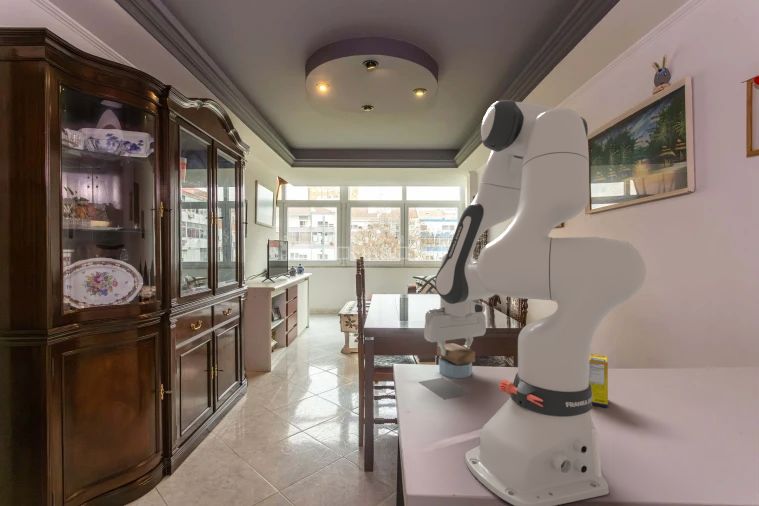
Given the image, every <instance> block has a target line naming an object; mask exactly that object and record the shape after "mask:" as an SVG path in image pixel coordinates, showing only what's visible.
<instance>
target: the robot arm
mask: <svg viewBox="0 0 759 506" xmlns="http://www.w3.org/2000/svg"><path fill="white" fill-rule="evenodd" d="M588 129H589V128H588V122H587V120H586V119H585V118H584V117H582V116H581V115H580V114H579V113H578V112H576V111H574V110H573V109H569V108H565V107H564V108H563V107H559V108H558V107H557V108H555V107H551V106H547V105H544V104H541V103H535V102H527V101H526V102H523V101H515V100H513V99H501V100H497V101H495V102H494V103H492V104H491V105H490V106H489V107H488V108H487V110H486V113H485V114H484V116H483V119H482V122H481V125H480V140H481V143H482V144H483V146H484V147H485V148H487V149H489V150H491V151H490V154H489V155H488V157H487V161H486V164H485V166H484V170H483V172H482V176H481V180H480V183H479V187H478V190H477V193H476V194H475V196H474V198H473V200H472V202H471V203H469V205H467V207H465V209H464V210H463V212H462V214H461V216H460V218H459V221H458V223H457V226H456V229H455V231H454V235H453V237H452V240H451V241H450V245H449V247H448V251H447V253H446V254H444V255H443V257H442V259H441V264H440V267H439V269H438V272H437V274H436V276H435V279H434V280H435V281H434V286H435V290H436V292H437V294H438V296H439V297H440V301H439V302H440V303H439V304H440V306H439V307H437V308H430V309H429V310H428V311H426V313H425V316H424V317H425V319H424V320H425V321H424V328H423V329H424V330H423V337H424V339H425V340H426V341H427V342H430V343H437V345H439V347H440V349H441V355H443V356H446V355H448V349H446V348H445V346H444V344H447V343H446V341H452V340H458V339H460V340H461V339H465V342H464V345H461V346H462V347H465V348H468V349H470V350H471V345H472V344H473V341H474V338H475V337H482V336H484V335H485V334H486V332H487V322H486V321H487V319H486V315H485V313H484V312H485V311H486V306H485V305H484V304H481V303H477V302H474V301H478V300H484V299H489V298H493V297H495V295H499V296H503V297H509V298H512V299H525V300H526V299H527V300H528V299H529V300H543V301H551V302H555V303H556V304H557V309H556V310H555V312H553V313H552V314H550V315H548V316H545V317H541V318H539V319H537V320H535V321H532V322H530V323H528V324H526V325H525V326H524V327H523V328H522V329H521V330H520V332H519V334H518V337H517V372H516V373H515V377H514V380H513V382H509V381H508V380H507V379H502V380H500V383H499V386H498V387H499V390H500V391H501V392H504V393H506V394H507V395H509V396H510V397H509V398H508V399H507V401H506V402H505V403H504V404H503V405H501V407H500V408H499V409H498V410H497V411H496V412H495V413H494V414H493V415H492V417H490V419H489V420H487V422H486V423H485V424H483V426H482V429H481V431H480V437H479V445H477V446H475V447H473V448H472V449H470V450H467V451H466V453H465V457H464V460H465V464H466V466H467V468H468V469H469V471H470V472H471V474H473V476H474V477H475V478H476V479H478V481H479V482H480V483H481V484H482V485H483V486H485V487H486V488H487V489H488V490H489V491H490V492H492V493H493V494H495V495H496V496H497V497H499V498H501V500H503V501H505V502H507V503H509V504H510V505H513V506H558V505H563V504H567V503H574V502H578V501H582V500H583V501H584V500H588V499H592V498H597V497H600V496H607V495H609V494H610V490H609V483H608V481H607V480H606V479H605V477H604V476H603V472H602V463H601V462H602V461H601V453H600V445H599V435H598V431H597V429H596V426H595V425H594V422H593V418H592V416H591V410H592V408H593V405H592V400H593V394H592V387H591V385H590V384H589V361H590V354H591V350H592V342H593V339H594V336H595V334H596V332H597V329H598V328H599V326H600V325H601V323H602V322H603V321H604V319H605V318H606V317H607V316H608V315H609V314H610V313H611V312H613V310H615V309H616V308H617V307H620V306H621V305H623V304H624V303H627V302H629V301H630V300H631V299H632V298H634V297H636V295H637V294H638V293H639V292H640V290H641V289H642V288H643V285H644V284H645V280H646V276H647V269H646V268H647V267H646V262H645V260H644V258H643V255H642V254H641V253H640V251H639V250H638V249H637V248H636V247H635V246H634V245H633V244H632V243H630V242H629V241H625V240H624V241H623V240H620V239H619V240H618V239H612V238H608V237H607V238H605V237H600V236H599V237H598V236H589V237H588V236H587V237H586V236H585V237H584V236H583V237H578V236H576V237H552V236H549V235H550V233H551V232H552V231H553V230H554V229H555V228H557V227H558V226H559V225H561V224H562V223H565V222H568V221H569V220H572V219H573V218H575V217H577V216H578V215H580V214H581V213H582V212H583V211H584V209H585V208H586V207H587V205H588V202H589V200H590V157H589V156H590V155H589V154H590V153H589V143H588V133H589V130H588ZM510 219H512V220H511V221H510V223H509V224H508V225H507V226H506V228H505V229H504V230H503V231H502V232H501V233H500V234H499V235H497V237H496V238H494V239H493V240H491V241H490V242H488V243H487V244H486V245H484V247H483V248H482V249H481V251H480V253H479V254H478V256H477V257H478V258H477V259H475V258H474V257H472V256H473V253H474V250H475V248H476V245H477V243H478V240H479V239H480V237H481V236H482V235H483V234H484V233H485V232H486V231H487V230H489V229H490V228H492V227H495V226H496V225H498V224H502V223H505V222H507V221H509V220H510Z"/></svg>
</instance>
